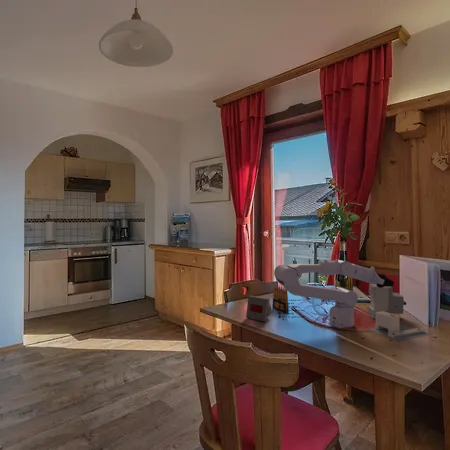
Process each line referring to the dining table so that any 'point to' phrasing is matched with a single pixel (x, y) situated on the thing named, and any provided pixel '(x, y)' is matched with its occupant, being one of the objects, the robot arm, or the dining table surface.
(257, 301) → the voltmeter
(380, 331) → the board
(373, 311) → the circuit breaker
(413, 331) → the din rail
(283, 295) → the ammunition clip
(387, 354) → the dining table surface
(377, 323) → the block
